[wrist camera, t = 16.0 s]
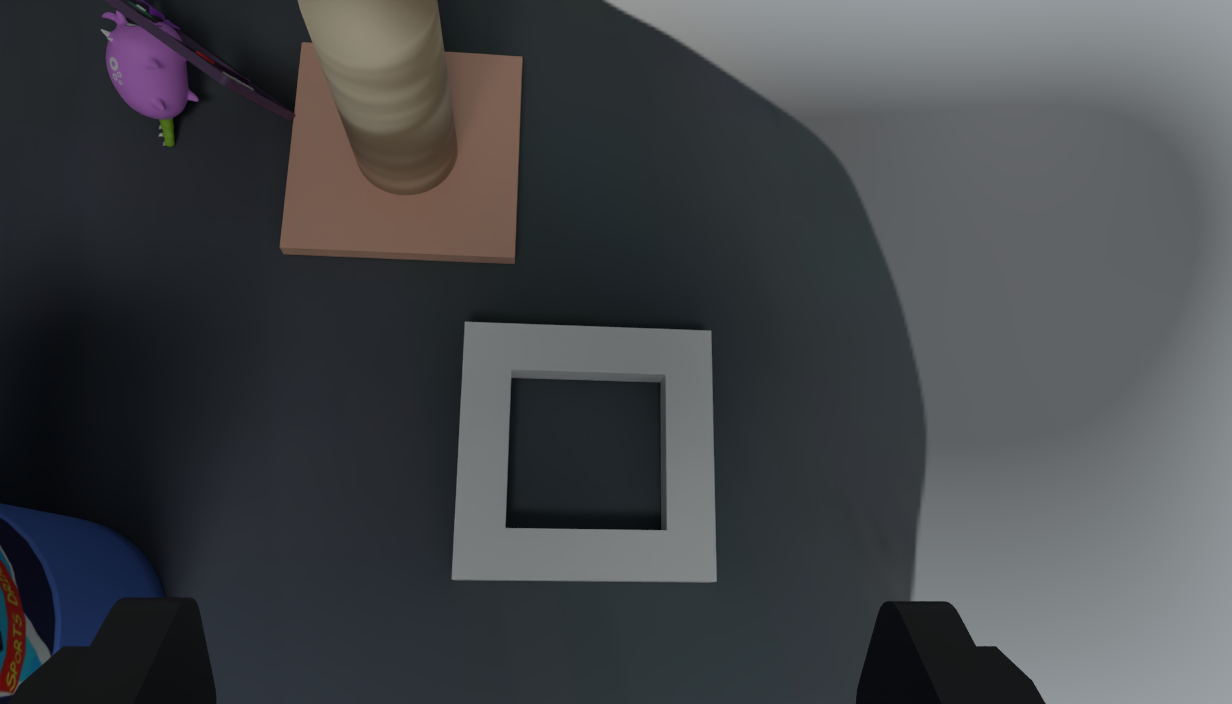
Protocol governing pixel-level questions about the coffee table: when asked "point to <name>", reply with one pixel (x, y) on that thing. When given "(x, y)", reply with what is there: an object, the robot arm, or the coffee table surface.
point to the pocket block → (586, 552)
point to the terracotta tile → (408, 224)
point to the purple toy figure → (166, 66)
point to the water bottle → (60, 586)
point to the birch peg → (388, 87)
